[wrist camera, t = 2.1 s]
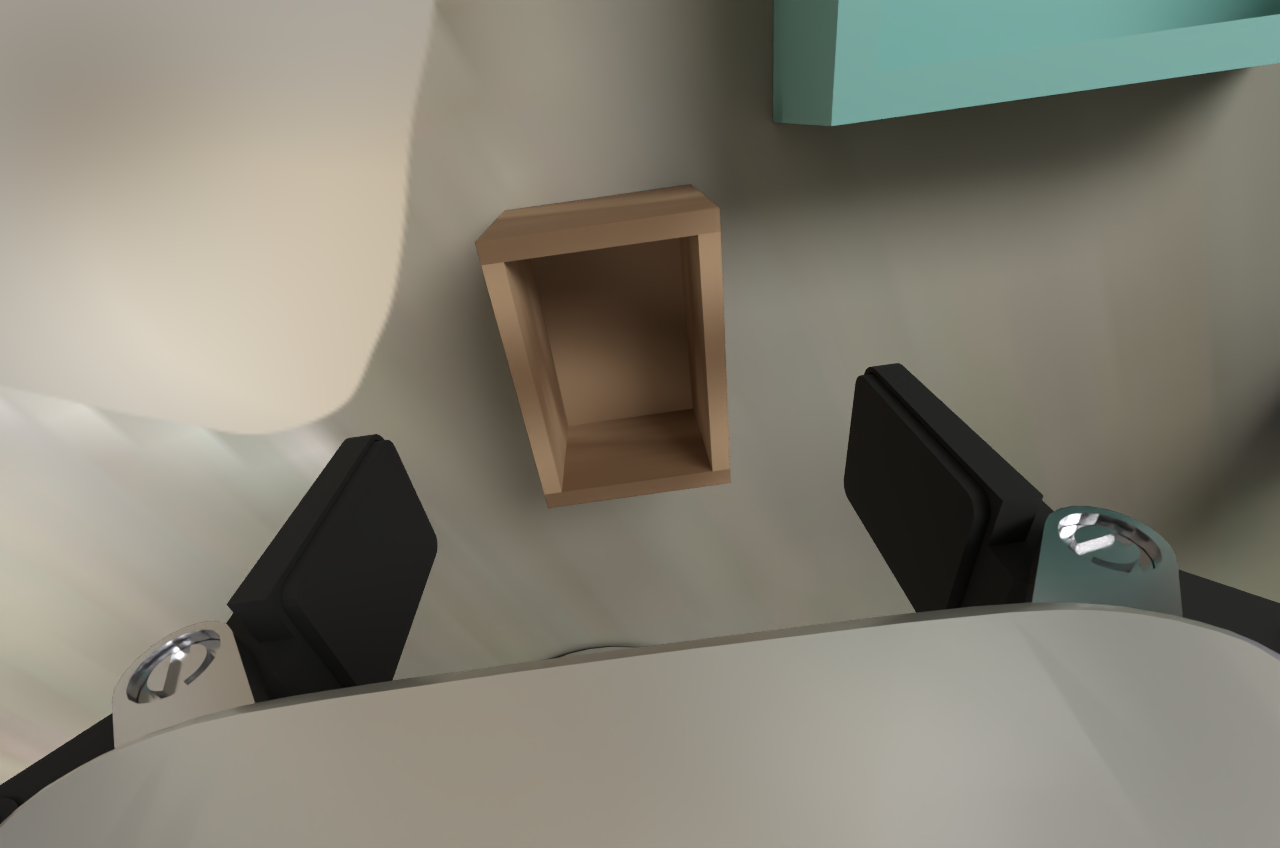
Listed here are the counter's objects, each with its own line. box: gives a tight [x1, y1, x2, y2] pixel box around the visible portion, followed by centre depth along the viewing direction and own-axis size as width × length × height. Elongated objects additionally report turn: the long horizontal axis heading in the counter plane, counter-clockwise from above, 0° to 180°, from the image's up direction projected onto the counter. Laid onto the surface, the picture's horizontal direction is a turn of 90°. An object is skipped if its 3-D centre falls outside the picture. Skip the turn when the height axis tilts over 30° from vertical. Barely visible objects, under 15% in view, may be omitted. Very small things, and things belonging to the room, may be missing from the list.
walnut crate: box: [475, 184, 731, 508], centre depth 18 cm, size 9×6×5 cm
